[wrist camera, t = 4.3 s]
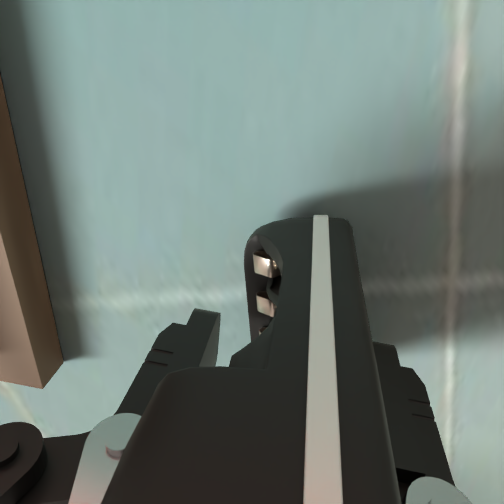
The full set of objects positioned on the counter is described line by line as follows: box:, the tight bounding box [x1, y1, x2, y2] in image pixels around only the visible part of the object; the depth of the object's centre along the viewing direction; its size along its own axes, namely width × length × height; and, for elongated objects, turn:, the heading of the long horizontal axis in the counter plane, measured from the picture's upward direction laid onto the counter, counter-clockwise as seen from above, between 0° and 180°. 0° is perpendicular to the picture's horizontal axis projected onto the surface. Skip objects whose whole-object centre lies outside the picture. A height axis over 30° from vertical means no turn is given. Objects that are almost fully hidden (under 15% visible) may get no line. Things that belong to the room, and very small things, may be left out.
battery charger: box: [101, 215, 402, 504], centre depth 8 cm, size 7×4×11 cm, turn 4°
